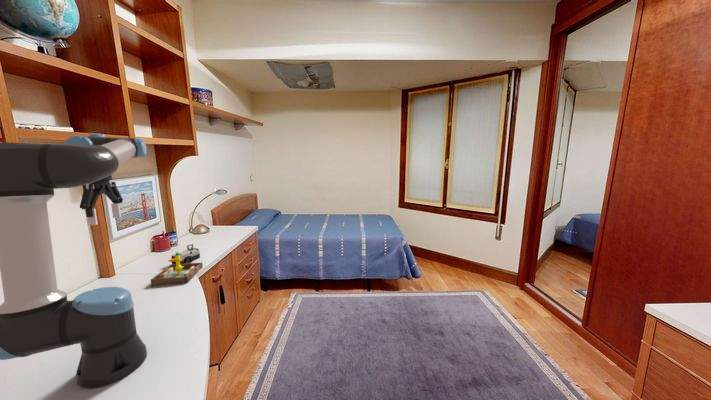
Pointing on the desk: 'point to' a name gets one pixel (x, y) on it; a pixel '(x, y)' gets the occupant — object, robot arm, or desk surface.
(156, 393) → the desk surface
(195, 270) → the walled box
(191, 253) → the camera
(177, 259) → the toy figure
